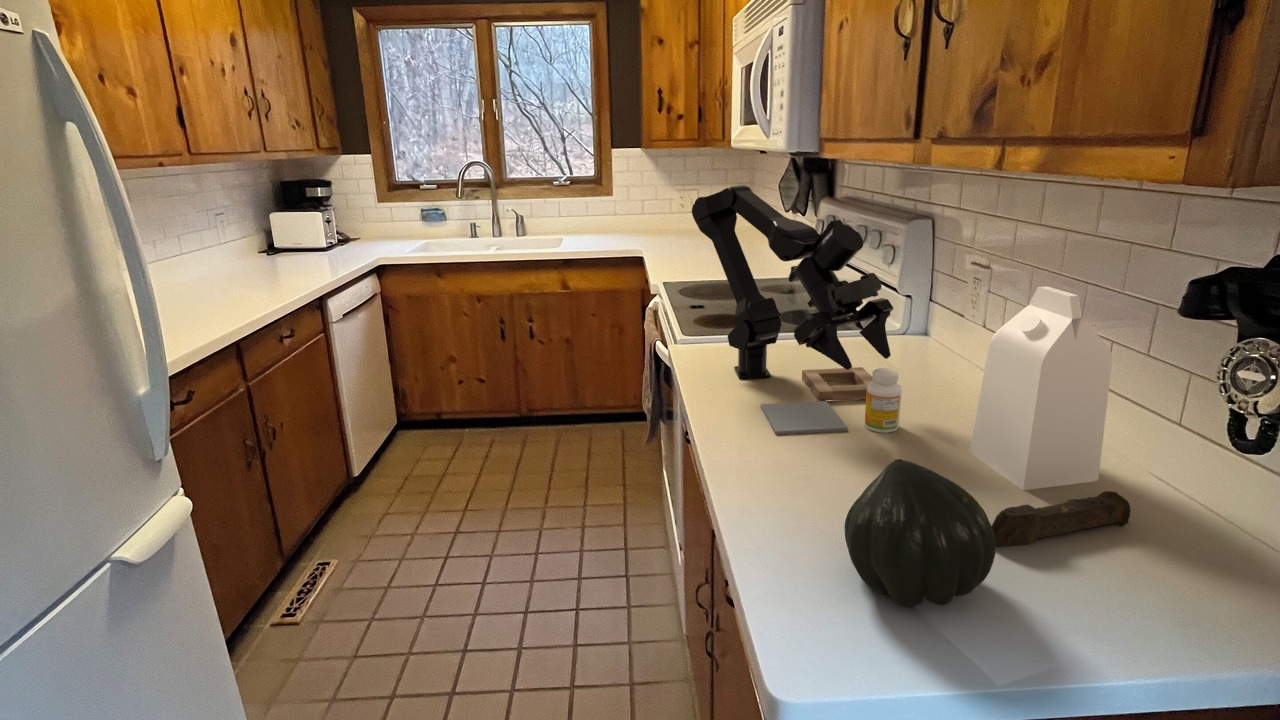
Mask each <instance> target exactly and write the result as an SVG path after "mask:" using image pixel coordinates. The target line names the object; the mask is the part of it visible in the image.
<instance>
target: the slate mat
mask: <svg viewBox="0 0 1280 720" xmlns="http://www.w3.org/2000/svg"><path fill="white" fill-rule="evenodd" d="M760 409H761V412H764V413H763V414H765V415H764V417H765V418H766V420H767V422H768V421H769V422H768V424H769V423H770V424H769V425H771V426H770V427H771V429H772V431H773V433H774V434H775V435H776V434H781V435H794V434H793V433H800V434H815V433H816V432H819V433H833V432H834V433H835V432H836V433H837V432H838V433H839V432H848V431H849V430H848V429H849V428H848V425H847V424H845V422H844V421H843V420H842V419H841V417H840V416H839V415H838V413H837V412H836V411H835V410H834V409H833V407H832V406H831V405H830V403H829V402H827V401H818V400H817V401H816V400H815V401H798V402H797V401H793V402H778V403H777V402H776V403H773V402H772V403H760ZM814 432H815V433H814ZM816 434H817V433H816ZM776 436H777V435H776Z"/></svg>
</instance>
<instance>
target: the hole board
mask: <svg viewBox="0 0 1280 720" xmlns="http://www.w3.org/2000/svg"><path fill="white" fill-rule="evenodd" d="M801 371H802V372H801V373H802V374H801V381H802V382H803V381H804V382H805V383H804V382H803V383H804V384H805V386H806V385H807V386H808V387H809V388H810V390H811V391H812V392H811V391H810V390H809V391H810V392H811V393H812V395H813V394H814V395H815V396H816V397H815V396H814V395H813V396H814V397H815V399H816V398H817V399H818V400H819V401H826V400H850V401H856V400H855V399H866V394H867V386H868V384H869V383H871V382H873V380H872V375H871V374H870V373H869V372H868V371H867V370H866V369H865V368H863V366H860V367H852V368H850V369H849V370H846V369H845V368H843V367H840V368H822V369H819V368H818V369H802V370H801ZM826 382H835V383H850V382H851V383H854V384H851V385H850V384H849V385H848V384H847V385H831V386H830V385H829V383H826ZM807 386H806V387H807ZM808 387H807V388H808ZM809 388H808V389H809ZM817 399H816V400H817ZM818 400H817V401H818Z"/></svg>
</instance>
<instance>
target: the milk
mask: <svg viewBox="0 0 1280 720" xmlns="http://www.w3.org/2000/svg"><path fill="white" fill-rule="evenodd" d="M1082 317H1083V316H1082V308H1081V303H1080V295H1078V294H1075V293H1072V292H1068V291H1065V290H1062V289H1057V288H1055V287H1050V286H1044V285H1043V286H1037V288H1036V290H1035V292H1034V294H1033V296H1032V298H1031V300H1030V302H1029V305H1027V306H1025V307H1024V308H1023V309H1022V310H1020V311H1019V312H1018V313H1016V314H1015V316H1013V317H1012V318H1011V319H1010V320H1009V321H1008V320H1007V322H1006V323H1005V324H1003V325H1002V326H1001V327H1000V328H998V330H996V332H994V334H993V335H992V337H991V339H990V342H989V344H988V350H987V356H986V361H985V366H984V371H983V375H982V382H981V388H980V393H979V398H978V404H977V409H976V415H975V420H974V423H973V430H972V436H971V441H970V446H969V454H971V455H972V456H974V457H975V458H976V459H978V460H980V462H982V463H983V464H985V465H986V466H988V467H989V468H991V469H992V471H993V470H994V471H995V472H996V473H998V474H999V475H1000V476H1002V477H1004V479H1006V480H1008V481H1009V482H1010V483H1012V484H1013V485H1014V486H1016V487H1017V488H1019V489H1020V490H1022V491H1030V490H1037V489H1043V488H1044V489H1045V488H1052V487H1054V488H1055V487H1060V486H1068V485H1076V484H1077V485H1078V484H1082V483H1083V484H1085V483H1093V482H1098V481H1099V477H1100V476H1099V475H1100V467H1101V458H1102V450H1103V442H1104V435H1105V433H1104V432H1105V426H1106V416H1107V408H1108V400H1109V399H1108V398H1109V390H1110V384H1111V383H1110V382H1111V375H1112V374H1111V373H1112V365H1113V353H1112V350H1111V348H1110V346H1109V345H1108V344H1107V343H1106V342H1105V340H1104V339H1102V337H1100V335H1098V333H1097V332H1096V331H1095V330H1094V329H1093V328H1092V327H1091V326H1090V325H1089V324H1088V323H1087V322H1086V321H1085V319H1083V318H1082Z"/></svg>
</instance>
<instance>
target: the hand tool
mask: <svg viewBox="0 0 1280 720" xmlns="http://www.w3.org/2000/svg"><path fill="white" fill-rule="evenodd" d="M1131 512H1132V510H1131V504H1130V503H1129V501H1128V500H1127V499H1126V498H1125V497H1123V495H1120V494H1119V493H1118V492H1116V491H1110V490H1105V491H1102V492H1101V493H1099V494H1098V495H1096V496H1089V497H1086V498H1069V499H1068V500H1067V501H1066V502H1062V503H1057V504H1052V505H1047V506H1041V507H1033V506H1032V505H1031V504H1022V505H1019V506H1011V507H1007V508H1004V509H1002V510H1000V511H999V513H998V514H997V515H996V516H995V519H994V521H993V522H992V524H991V526H992V529H993V531H994V534H995V543H996V546H995V547H1007V548H1008V547H1015V546H1029V545H1033V544H1034V543H1035V542H1036V540H1037V539H1040V538H1045V537H1049V536H1057V535H1060V534H1061V535H1063V534H1064V535H1066V534H1067V533H1070V532H1075V531H1080V530H1085V529H1086V530H1087V529H1090V528H1096V527H1100V526H1106V525H1108V524H1115V525H1118V526H1120V527H1124V526H1125V525H1127V524H1129V519H1130V518H1131V517H1130V516H1131Z"/></svg>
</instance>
